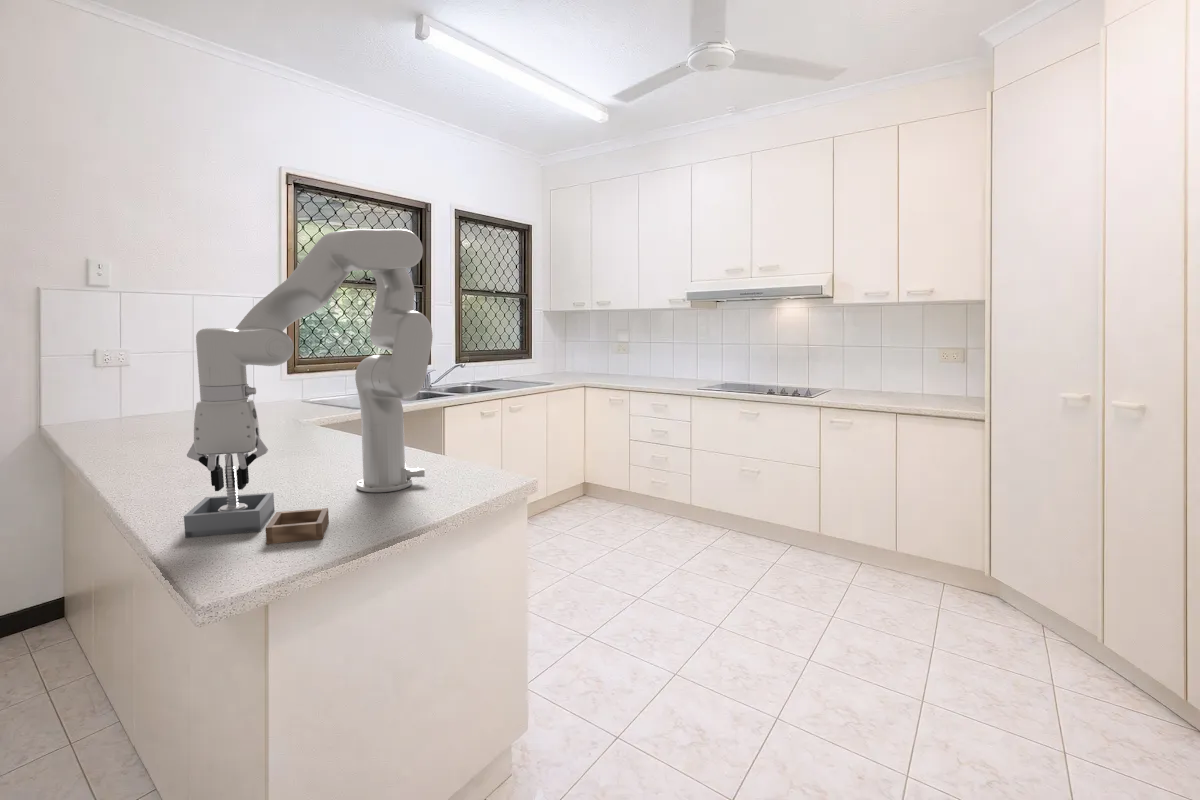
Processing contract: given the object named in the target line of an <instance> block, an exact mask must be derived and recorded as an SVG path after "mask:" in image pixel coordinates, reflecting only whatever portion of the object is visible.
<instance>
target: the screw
mask: <svg viewBox="0 0 1200 800" xmlns="http://www.w3.org/2000/svg"><path fill="white" fill-rule="evenodd" d="M233 456H234V454H224V465H225V466H224V474H225V475H224V477H225V483H226V484H225V486H226V487H225V489H226V491H225V492H226V496H227V498H228V499H227V500H228V502H227V503H228V504H227V505H224V506H222V507H220V508H219V509H218V512H226V511H240V510H246V509H247V508H248V506H247V505H246V504H244V503H238V502H237V501H238V499H237V498H238V496H237V495H238V485H237V481H236V480H237V469H235V468H236V466H235V465H234V457H233Z"/></svg>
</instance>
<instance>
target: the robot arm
mask: <svg viewBox="0 0 1200 800" xmlns="http://www.w3.org/2000/svg"><path fill="white" fill-rule="evenodd" d="M423 254H424V247H423V244H422V241H421V240H420V238H419V237H418V236H417V234H415V233H414V232H412V231H411V230H409V229H404V228H400V229H399V228H395V229H393V228H392V229H391V228H390V229H389V228H388V229H386V228H383V229H382V228H381V229H378V228H377V229H370V228H368V229H367V228H362V229H361V228H352V229H342V230H337V231H331V232H327V233H326V234H325V235H323V236H321V238H320V239H318V241H316V243H315V245H313V247H312V248H311V249H310V251H309V252H307V254H306V256H305V257H304V258H303V259H302V260H301V261H300V263H298V265H297V266H296V268H295V269H294V270H293V271H292V273H290V275H288V277H287V278H286V279H285V280H284V281H283V282H282V283H280V284H279V285H278V286H277V287H275V288H274V289H273V290H272V291H271V292H269V294H267V295H265V296H264V297H263V298H262V299H260V301H258V302H257V303H256V304H255V305H254V306H253V307H252V308H251V309H250V310H249V311H248V312H247V314H246V315H245V316H244V317H243V319H242V320H241V321H240V322H239V323H238V325H237V326H236V327H235V328H225V327H223V328H220V327H219V328H216V327H215V328H214V327H213V328H211V327H210V328H209V327H208V328H202V329H200V330H198V331H197V332H196V334H195V344H196V356H197V357H196V358H197V369H198V370H197V373H198V384H199V397H200V400H199V401H197V402H196V404H195V411H194V412H195V413H194V421H193V443H191V447H190V448H189V450H188V451H187V453H186V457H187V458H188V459H191V460H194V461H196V462H197V461H198V462H199V463H200V464H201V465H203V466H204V467H206V469H207V470H208V471H209V472H210V480H211V487H214V491H215V492H219V491H221V490H222V489H223V488H224V486H225V478H224V469H223V467H222V466H221V465H220V462H221V461H220V459H221V457H220V456H221V455H226V454H232V455H234V454H235V455H236V457H237V461H238V468H237V469H236V480H237V481H236V482H237V483H236V485H237V490H241V491H242V490H244V488H245V487H246V486H247V484H249V482H250V478H249V466H250V465H251V464H252V463H253V462H254V461H255V460H256V459H258V458H260V457H262V456H264V455H265V454H267V453H268V451H269V449H268V447H267V446H266V444H265V443H264V442H263V440H262V439H261V434H260V433H261V432H260V425H259V420H258V414H257V413H258V412H257V409H256V405H255V401H254V399H249V397H250V396H252V395H256V394H257V388H256V387H251V386H249V383H248V379H247V377H248V376H247V375H248V374H247V366H248V365H250V366H263V367H276V366H279V365H282V364H285V363H286V362H287V361H289V360H290V359H291V357H293V356H292V355H293V354H294V350H295V348H294V346H295V345H294V342H293V340H292V338H291V337H290V336H289V335H288V334H287V333H286V332H284V331H285V329H287V328H288V327H289V326H290V325H292V324H293V323H294V322H296V321H297V320H300V319H301V318H304V317H306V316H308V315H310V314H312V313H315V312H316V311H319V309H322V308H323V307H325V306H326V305H327V303H328V302H329V301H330V299H331V298H332V297H333V296H334V294H335V293H336V291H337V290H338V289H339V287H340V286H341V285H342V283H343V282H344V281H345V280H346V278H347V277H348V275H349V274H350V273H351V272H353V271H354V272H355V271H356V272H357V271H358V272H359V271H370V272H371V274H372V276H373V277H374V279H375V282H376V295H375V296H376V297H375V301H374V308H373V311H372V312H373V313H372V316H371V317H372V318H371V322H370V329H369V338H370V341H371V343H372V344H373V345H374V346H375V347H377V348H379V349H380V350H383V351H384V350H385V351H392V353H391V355H385V354H374V355H369V356H367V357H365V358H364V359H362V360H361V361H360V362H359V363H358V365H357V366H356V370H355V378H354V379H355V385H356V386H355V387H356V389H357V390H356V391H357V393H358V399H359V406H360V419H361V420H360V421H361V425H360V426H361V450H362V451H361V452H362V474H363V477H362V479H360V480H359V479H358V480H357V481H356V489H357V490H358V491H361V492H365V493H390V492H395V491H400V490H404V489H407V488H409V487H411V486H412V484H413V478H424V477H426V476H425V475H426V474H425V468H419V467H417V468H410V467H407V463H406V460H405V459H406V457H405V455H406V454H405V425H404V424H405V418H404V417H405V416H404V415H405V413H404V408H403V407H404V406H403V403H402V401H401V399H410V398H412V397H413V398H414V397H415V396H416V395H417V394H419V393H420V391H421V390H422V388H423V386H424V384H425V381H426V377H427V372H428V367H429V361H430V356H431V350H432V344H433V328H432V324H431V322H430V320H429V319H428V318H427V316H425V314H423V313H422V312H419V311H417V310H413V308H414V302H415V285H414V283H413V279H412V277H411V276H410V274H409V272H408V270H407V269H410V268H413V267H415V266H417V264H419V263H420V261H421V260H422V257H423ZM255 449H256V450H255ZM253 451H254V452H253ZM250 452H251V453H250ZM249 453H250V454H249Z"/></svg>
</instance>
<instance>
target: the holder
mask: <svg viewBox="0 0 1200 800" xmlns="http://www.w3.org/2000/svg"><path fill="white" fill-rule="evenodd" d="M272 516H273V517H271V518H270V521H269V522H268V524H267V525H266V526H265V542H266V545H273V544H282V543H283V544H286V543H292V542H293V543H294V542H303V541H305V542H306V541H315V540H316V541H317V540H323V539H324V536H325V534H326V531H327V528H328V526H329V523H330V521H329V520H330V519H329V516H330V515H329V507H326V508H312V509H299V510H287V511H276V513H275V512H274V515H272Z"/></svg>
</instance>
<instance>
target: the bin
mask: <svg viewBox="0 0 1200 800" xmlns="http://www.w3.org/2000/svg"><path fill="white" fill-rule="evenodd" d="M237 496H238V498H237V499H238V501H237V502H238V503H244V504H246V505H247V506H248V508H247V509H246V510H240V511H226V512H218V509H219V508H220V507H222V506H224V505H227V504H228V503H227V502H228V500H227V499H228V498H227V495H221V496H220V495H219V496H218V495H217V496H206V497H204V498H203V499H202V500H200V502H198V503H197V504H196V505H195V506H194V507H193V508H192V509H191V510H189V511H188V512H187V513H186V514H184V515H183V523H184V524H183V525H184V534H185V536H184V537H185V538H186V539H187V538H194V537H207V536H208V537H209V536H221V535H232V534H242V533H254V532H255V533H256V532H261V531H263V529H264V527H266V526H265V525H266V524H267V523H268V521H269V519H271V518H272V516H273V514H275V498H274V497H275V495H274V492H263V493H262V492H261V493H250V494H249V493H248V494H237Z"/></svg>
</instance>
